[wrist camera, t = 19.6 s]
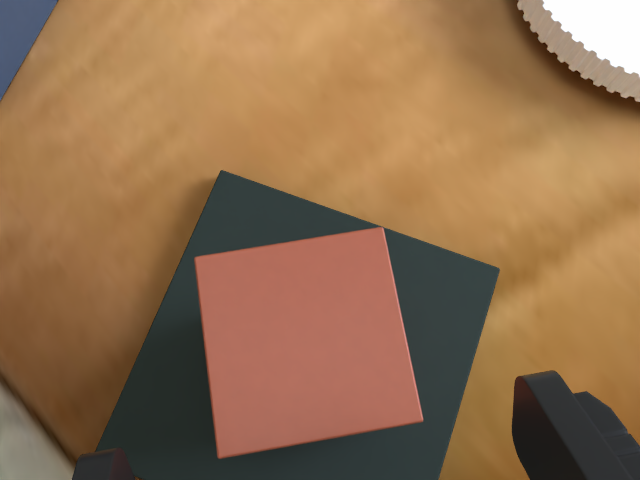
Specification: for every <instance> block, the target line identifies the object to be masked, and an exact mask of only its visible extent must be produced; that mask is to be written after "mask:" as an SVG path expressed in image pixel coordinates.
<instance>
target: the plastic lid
mask: <svg viewBox="0 0 640 480" xmlns="http://www.w3.org/2000/svg"><path fill="white" fill-rule="evenodd" d="M518 1H519V2H518V4H517V6H518V9H519V10H523V11H524V15H523V18H524V20H525V21H529V22H530V24H531V26H530V29H531V31H532V32H537V33H538V35H539V37H538V40H539V41H540V42H541V43H544V42H545V43H546V44H547V45H548V48H547V50H548V51H549V52H550V53H553V52H555V53H556V54H557V55H558V58H557V59H558V60H559V61H560V62H561V63H562V62H566V63H567V64H569V67H568V68H569V69H570V70H572V71H575V70H577V71H578V72H580V73H581V75H580V76H581V77H582V78H584V79H587V78H590V79H591V80H593V84H594V85H596V86H598V87H599V86H600V85H603V86H605V87H606V88H607V91H609V92H611V93H613V92H614V91H617V92H619V93H620V95H621V97H624V98H627V97H628V96H631V97H634V98H635V101H637V102H640V0H518Z"/></svg>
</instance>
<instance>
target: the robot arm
mask: <svg viewBox="0 0 640 480" xmlns="http://www.w3.org/2000/svg"><path fill="white" fill-rule="evenodd" d="M512 436H513V441H514V445H515V449H516V452H517V455H518V457H519V459H520V461H521V463H522V465H523V467H524V469H525V471H526V473H527V475H528V476H529V478H530V480H640V446H639V445H638V443H637V442H636V441H635V439H634V438H633V437H632V436H631V434H628V432H627V429H626V428H625V426H624V425H623V424H622V422H621V421H620V420H619V419H618V417H617V416H616V415H615V413H614V412H613V411H612V409H611V408H610V407H608V406H607V405H605V404H604V403H602V402H601V401H600V400H598V399H597V398H595V397H594V396H592V395H591V394H590V393H588V392H587V391H586V392H580V393H575V394H573V393H572V392H571V390H570V389H569V388H568V386H567V385H566V383H565V382H564V381H563V379H562V378H561V376H560V375H559V374H558V373H557V372H556V371H553V370H551V371H546V372H540V373H535V374H529V375H524V376H518V377H517V378H516V380H515V386H514V402H513V418H512ZM72 480H135V477H134V475H133V472H132V470H131V467H130V465H129V462H128V460H127V457H126V455H125V453H124V451H123V449H122V448H114V449H109V450H103V451H98V452H92V453H87V454H82V455H80V457H79V458H78V460H77V463H76V467H75V470H74V474H73V477H72Z"/></svg>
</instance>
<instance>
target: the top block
mask: <svg viewBox="0 0 640 480" xmlns="http://www.w3.org/2000/svg"><path fill="white" fill-rule="evenodd" d="M194 263H195V271H196V280H197V288H198V296H199V305H200V313H201V322H202V330H203V339H204V347H205V356H206V364H207V373H208V381H209V390H210V398H211V407H212V415H213V424H214V432H215V440H216V449H217V457H218V458H219V459H222V458H228V457H233V456H239V455H244V454H250V453H255V452H261V451H266V450H272V449H277V448H283V447H288V446H294V445H299V444H305V443H310V442H316V441H322V440H327V439H333V438H338V437H344V436H349V435H355V434H360V433H366V432H371V431H377V430H382V429H388V428H393V427H399V426H404V425H410V424H415V423H421V422H423V415H422V410H421V406H420V401H419V396H418V391H417V387H416V382H415V377H414V372H413V367H412V363H411V358H410V353H409V348H408V343H407V339H406V334H405V329H404V324H403V319H402V315H401V310H400V305H399V300H398V295H397V291H396V286H395V281H394V276H393V271H392V267H391V262H390V257H389V252H388V248H387V243H386V238H385V233H384V229H383V227H377V228H371V229H365V230H358V231H352V232H346V233H340V234H334V235H327V236H321V237H315V238H309V239H303V240H296V241H290V242H284V243H278V244H272V245H265V246H259V247H253V248H247V249H241V250H234V251H228V252H222V253H216V254H210V255H203V256H197V257H195V258H194Z"/></svg>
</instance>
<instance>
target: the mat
mask: <svg viewBox="0 0 640 480" xmlns="http://www.w3.org/2000/svg"><path fill="white" fill-rule="evenodd" d="M377 227H381V226H378V225H376V224H373V223H370V222H367V221H364V220H361V219H359V218H356V217H353V216H350V215H347V214H344V213H342V212H339V211H336V210H333V209H330V208H328V207H325V206H322V205H319V204H316V203H313V202H311V201H308V200H305V199H302V198H299V197H296V196H294V195H291V194H288V193H285V192H282V191H279V190H277V189H274V188H271V187H268V186H265V185H263V184H260V183H257V182H254V181H251V180H248V179H246V178H243V177H240V176H237V175H234V174H231V173H229V172H226V171H223V170H221V171H220V173H219V175H218V178H217V180H216V182H215V184H214V187H213V189H212V191H211V193H210V196H209V198H208V200H207V202H206V205H205V207H204V209H203V211H202V214H201V216H200V218H199V220H198V222H197V225H196V227H195V229H194V231H193V234H192V236H191V238H190V240H189V243H188V245H187V247H186V249H185V252H184V254H183V256H182V258H181V261H180V263H179V265H178V267H177V269H176V272H175V274H174V276H173V278H172V281H171V283H170V285H169V287H168V290H167V292H166V294H165V296H164V299H163V301H162V303H161V305H160V308H159V310H158V312H157V314H156V317H155V319H154V321H153V323H152V325H151V328H150V330H149V332H148V334H147V337H146V339H145V341H144V343H143V346H142V348H141V350H140V352H139V355H138V357H137V359H136V361H135V364H134V366H133V368H132V370H131V372H130V375H129V377H128V379H127V381H126V384H125V386H124V388H123V390H122V393H121V395H120V397H119V399H118V402H117V404H116V406H115V408H114V411H113V413H112V415H111V417H110V420H109V422H108V424H107V426H106V428H105V431H104V433H103V435H102V437H101V440H100V442H99V444H98V446H97V449H96V451H95V452H98V451H103V450H109V449H114V448H122V449H123V451H124V453H125V455H126V457H127V460H128V462H129V465H130V467H131V470H132V472H133V475H134V476H136V477H138V478H141V479H143V480H438V479H439V475H440V472H441V468H442V465H443V462H444V458H445V455H446V451H447V448H448V445H449V441H450V438H451V434H452V431H453V428H454V424H455V421H456V417H457V414H458V411H459V407H460V404H461V400H462V397H463V394H464V390H465V387H466V383H467V380H468V376H469V373H470V370H471V366H472V363H473V359H474V356H475V353H476V349H477V346H478V342H479V339H480V336H481V332H482V329H483V325H484V322H485V319H486V315H487V312H488V308H489V305H490V302H491V298H492V295H493V291H494V288H495V285H496V281H497V278H498V274H499V271H500V269H499V268H497V267H494V266H491V265H489V264H486V263H483V262H480V261H477V260H474V259H472V258H469V257H466V256H463V255H460V254H458V253H455V252H452V251H449V250H446V249H443V248H441V247H438V246H435V245H432V244H429V243H426V242H424V241H421V240H418V239H415V238H412V237H409V236H407V235H404V234H401V233H398V232H395V231H393V230H390V229H387V228H384V227H383V229H384V233H385V238H386V243H387V248H388V252H389V257H390V262H391V267H392V271H393V276H394V281H395V286H396V291H397V295H398V300H399V305H400V310H401V315H402V319H403V324H404V329H405V334H406V339H407V343H408V348H409V353H410V358H411V363H412V367H413V372H414V377H415V382H416V387H417V391H418V396H419V401H420V406H421V410H422V415H423V422H421V423H415V424H410V425H404V426H399V427H393V428H388V429H382V430H377V431H371V432H366V433H360V434H355V435H349V436H344V437H338V438H333V439H327V440H322V441H316V442H310V443H305V444H299V445H294V446H288V447H283V448H277V449H272V450H266V451H261V452H255V453H250V454H244V455H239V456H233V457H228V458H222V459H219V458H218V457H217V449H216V440H215V432H214V424H213V415H212V407H211V398H210V390H209V381H208V373H207V364H206V356H205V347H204V339H203V330H202V322H201V313H200V305H199V296H198V288H197V280H196V271H195V263H194V258H195V257H197V256H203V255H210V254H216V253H222V252H228V251H234V250H241V249H247V248H253V247H259V246H265V245H272V244H278V243H284V242H290V241H296V240H303V239H309V238H315V237H321V236H327V235H334V234H340V233H346V232H352V231H358V230H365V229H371V228H377Z"/></svg>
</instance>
